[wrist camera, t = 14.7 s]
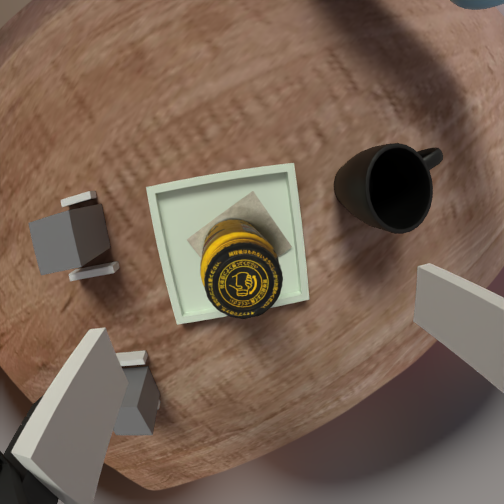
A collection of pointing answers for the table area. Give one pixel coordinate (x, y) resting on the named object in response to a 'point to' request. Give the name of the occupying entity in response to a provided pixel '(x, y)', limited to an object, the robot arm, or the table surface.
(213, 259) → the condiment
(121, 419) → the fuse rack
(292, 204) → the tray
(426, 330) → the robot arm
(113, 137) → the table surface
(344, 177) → the mug
